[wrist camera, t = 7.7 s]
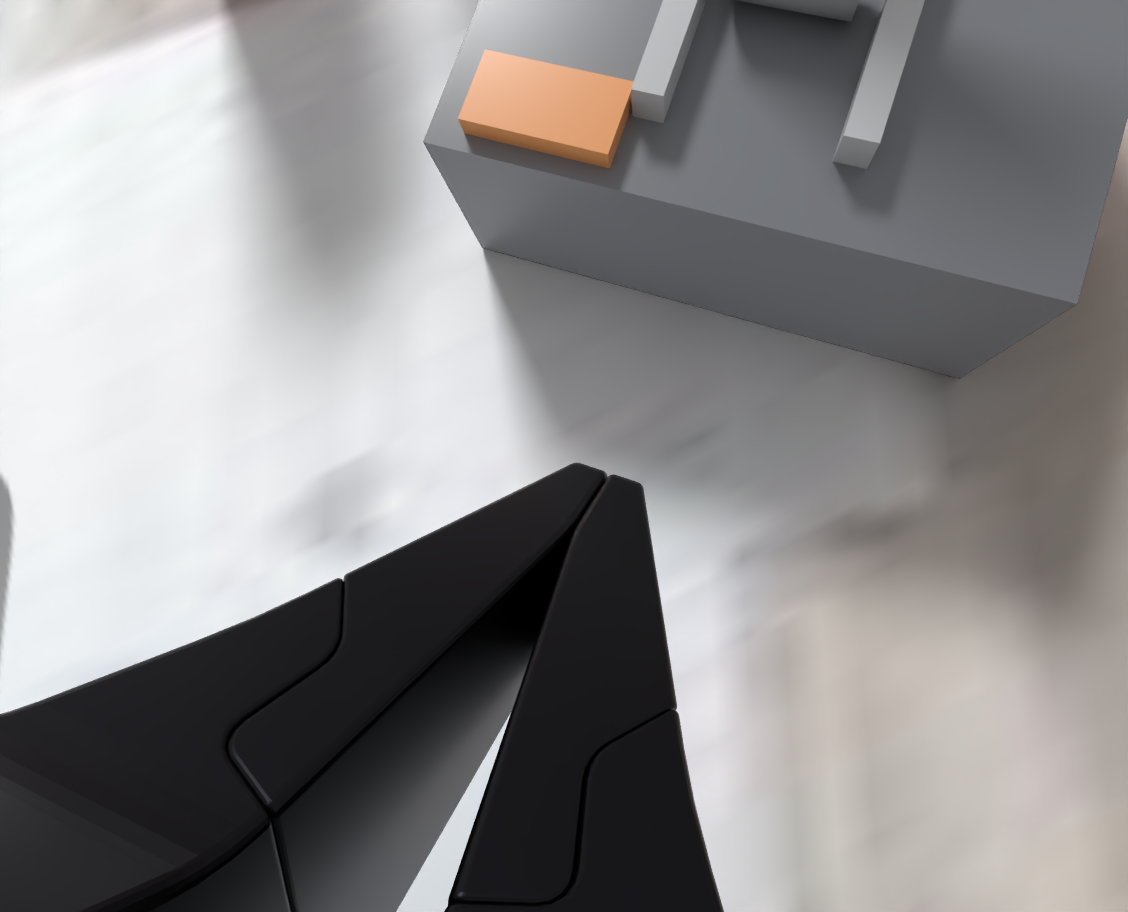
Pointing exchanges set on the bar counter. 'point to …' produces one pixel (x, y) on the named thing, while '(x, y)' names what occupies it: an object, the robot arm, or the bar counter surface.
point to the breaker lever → (814, 7)
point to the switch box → (799, 158)
